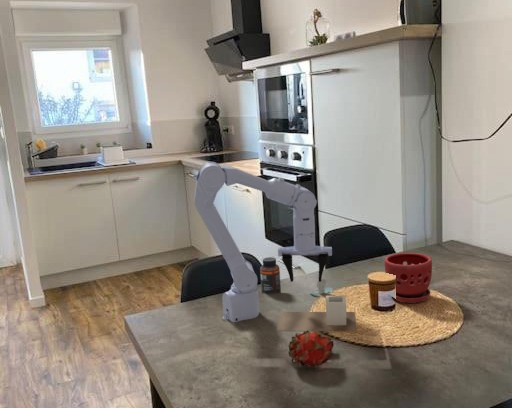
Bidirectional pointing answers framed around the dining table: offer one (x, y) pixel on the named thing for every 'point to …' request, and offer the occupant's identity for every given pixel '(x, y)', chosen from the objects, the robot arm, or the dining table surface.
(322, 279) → the pacifier
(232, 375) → the dining table surface
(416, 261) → the plant pot
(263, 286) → the supplement bottle
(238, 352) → the dining table surface
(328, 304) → the white hollow block
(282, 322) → the post board
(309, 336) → the dragon fruit
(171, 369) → the dining table surface
